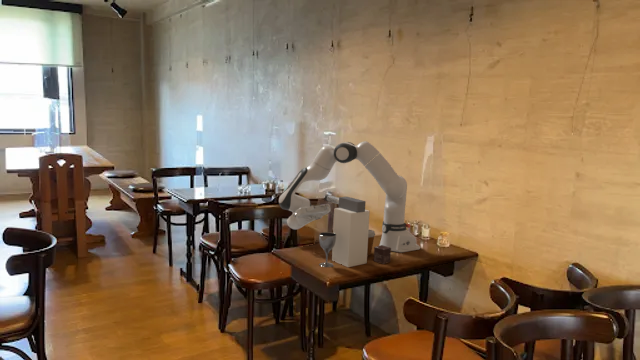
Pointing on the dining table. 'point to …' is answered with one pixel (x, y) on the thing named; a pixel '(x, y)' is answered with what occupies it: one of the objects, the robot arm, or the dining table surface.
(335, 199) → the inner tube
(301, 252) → the dining table surface
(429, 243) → the dining table surface
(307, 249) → the dining table surface
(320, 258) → the dining table surface
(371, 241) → the disposable coffee cup
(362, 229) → the stand
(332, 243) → the wine glass
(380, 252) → the box
